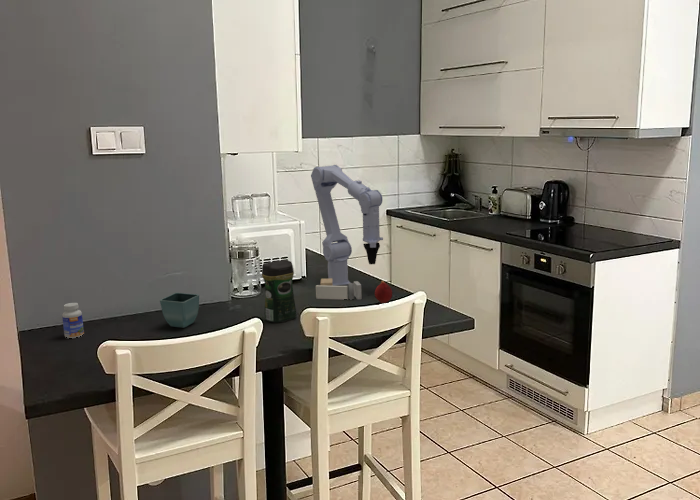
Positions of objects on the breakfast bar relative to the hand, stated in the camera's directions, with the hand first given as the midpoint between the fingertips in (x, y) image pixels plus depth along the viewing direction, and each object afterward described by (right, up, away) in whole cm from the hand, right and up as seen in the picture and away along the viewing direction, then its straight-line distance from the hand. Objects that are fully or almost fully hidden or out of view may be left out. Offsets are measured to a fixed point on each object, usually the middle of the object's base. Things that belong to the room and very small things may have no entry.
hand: (372, 263), depth 230 cm
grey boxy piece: (-6, -12, -3) cm, 14 cm away
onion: (+3, -13, -12) cm, 18 cm away
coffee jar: (-29, -17, -25) cm, 42 cm away
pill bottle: (-90, -21, -35) cm, 98 cm away
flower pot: (-59, -18, -28) cm, 68 cm away
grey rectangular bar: (-14, -12, -4) cm, 19 cm away
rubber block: (-16, -11, 0) cm, 19 cm away
